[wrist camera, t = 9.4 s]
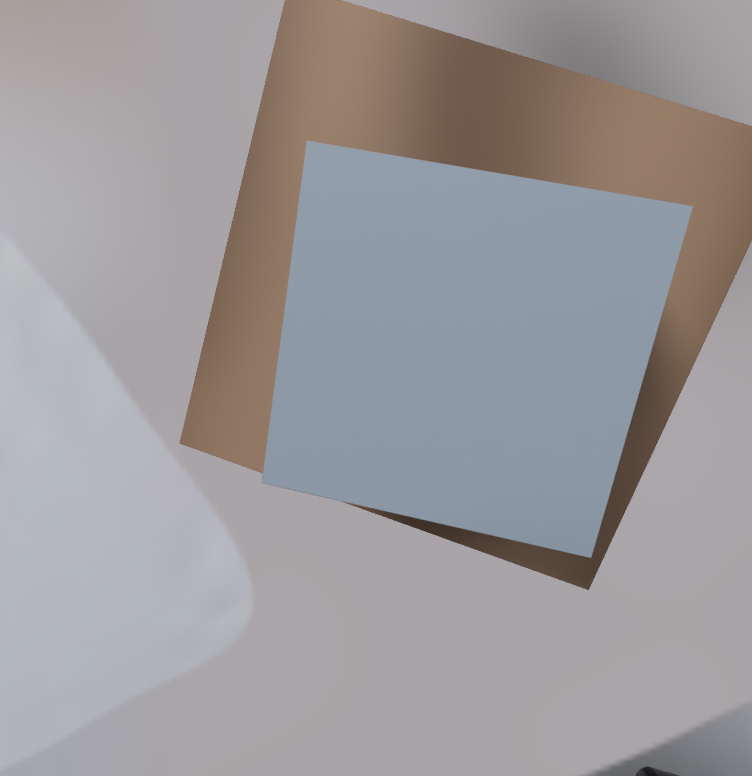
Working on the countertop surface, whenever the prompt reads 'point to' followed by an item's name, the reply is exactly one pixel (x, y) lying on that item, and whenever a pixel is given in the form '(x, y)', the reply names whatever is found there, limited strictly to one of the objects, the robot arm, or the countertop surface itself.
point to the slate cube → (465, 342)
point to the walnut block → (476, 151)
